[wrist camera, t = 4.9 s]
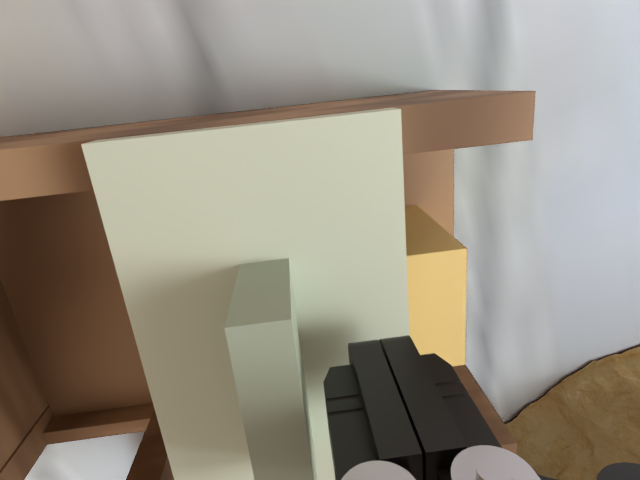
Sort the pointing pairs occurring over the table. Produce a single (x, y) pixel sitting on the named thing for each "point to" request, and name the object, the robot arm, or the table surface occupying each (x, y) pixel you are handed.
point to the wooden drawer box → (103, 284)
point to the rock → (584, 421)
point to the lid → (255, 278)
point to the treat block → (435, 288)
